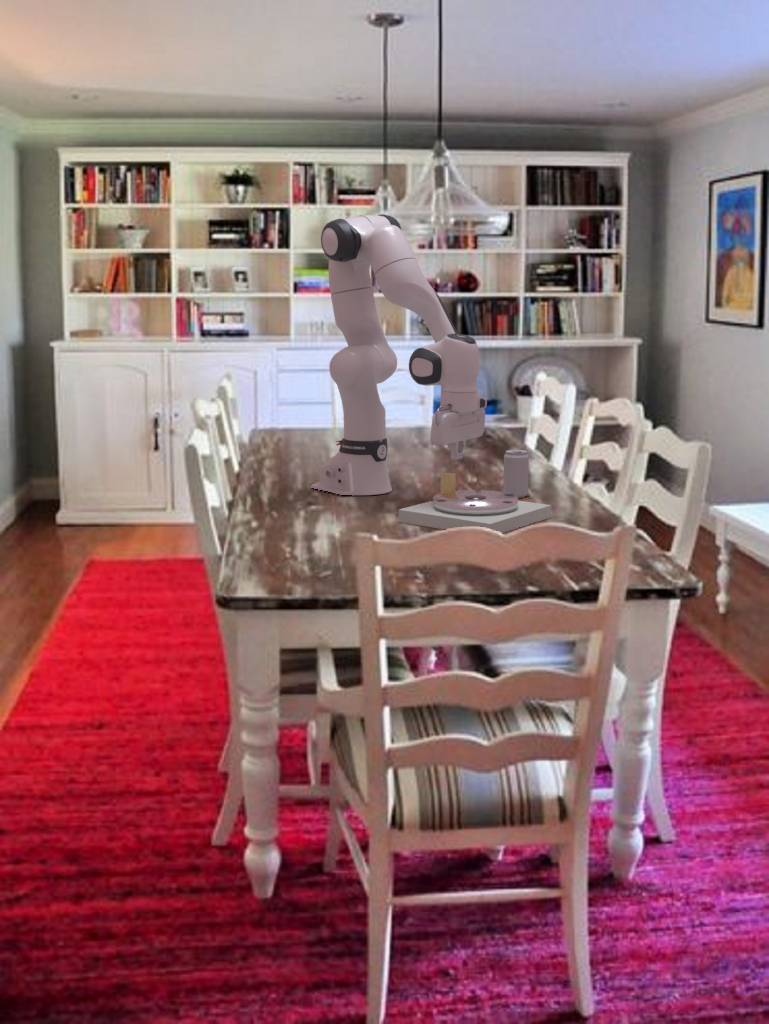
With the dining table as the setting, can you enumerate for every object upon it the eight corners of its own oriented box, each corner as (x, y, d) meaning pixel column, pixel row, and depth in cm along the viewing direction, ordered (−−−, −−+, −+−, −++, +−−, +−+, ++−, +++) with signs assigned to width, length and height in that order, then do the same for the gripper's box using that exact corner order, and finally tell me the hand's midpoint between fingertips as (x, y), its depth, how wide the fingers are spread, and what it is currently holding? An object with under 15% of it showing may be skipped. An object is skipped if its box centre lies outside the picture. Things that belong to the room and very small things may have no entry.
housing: (398, 522, 286) (398, 508, 285) (462, 504, 305) (462, 491, 305) (490, 537, 270) (490, 522, 269) (551, 517, 289) (551, 504, 289)
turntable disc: (454, 517, 274) (455, 487, 273) (420, 501, 292) (420, 473, 291) (533, 510, 281) (533, 481, 280) (494, 495, 299) (494, 467, 298)
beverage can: (508, 499, 311) (509, 453, 309) (499, 494, 317) (500, 449, 315) (531, 497, 313) (532, 452, 310) (522, 493, 319) (523, 448, 317)
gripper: (448, 408, 281) (445, 466, 284) (490, 399, 298) (488, 455, 301) (424, 405, 284) (423, 463, 287) (468, 397, 301) (466, 452, 304)
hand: (456, 459), depth 294 cm, fingers closed
